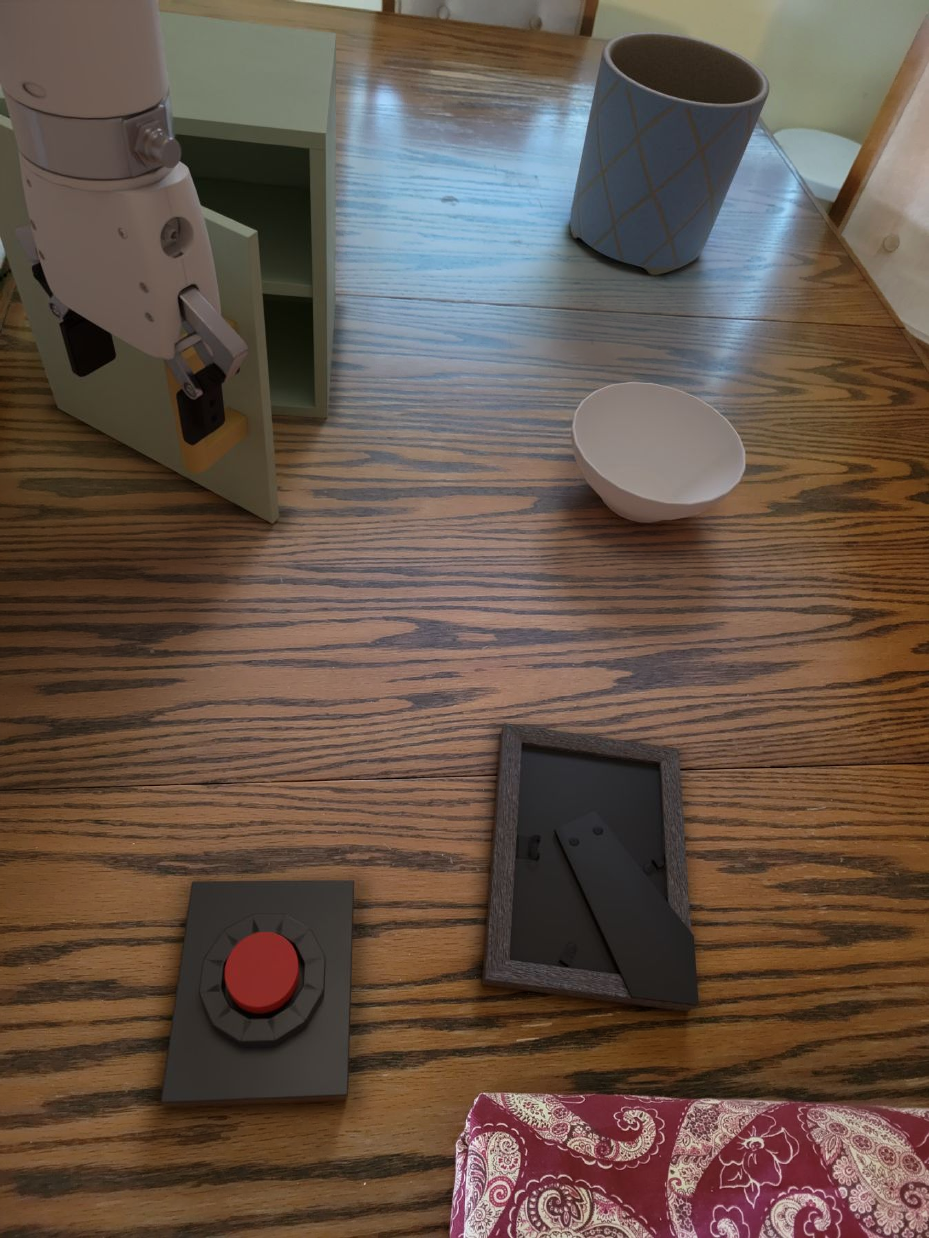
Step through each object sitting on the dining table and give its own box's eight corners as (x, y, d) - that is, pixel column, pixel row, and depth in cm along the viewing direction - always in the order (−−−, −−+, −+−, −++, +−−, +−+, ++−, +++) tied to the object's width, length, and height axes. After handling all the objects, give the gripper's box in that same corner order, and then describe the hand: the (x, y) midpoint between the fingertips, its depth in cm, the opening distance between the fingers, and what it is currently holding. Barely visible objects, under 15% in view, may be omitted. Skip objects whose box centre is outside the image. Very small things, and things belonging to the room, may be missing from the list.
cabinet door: (228, 567, 69) (182, 279, 48) (6, 443, 74) (-123, 132, 53) (279, 517, 73) (258, 230, 52) (65, 402, 78) (-34, 98, 57)
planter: (728, 239, 112) (794, 74, 96) (667, 298, 101) (730, 124, 85) (605, 184, 116) (649, 18, 100) (536, 235, 106) (572, 59, 90)
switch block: (347, 1100, 48) (348, 1091, 45) (166, 1107, 46) (154, 1098, 43) (353, 890, 55) (354, 869, 52) (196, 892, 53) (187, 870, 50)
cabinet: (327, 418, 81) (325, 133, 60) (63, 401, 78) (-37, 93, 57) (335, 309, 92) (336, 33, 70) (103, 289, 88) (30, -5, 67)
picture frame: (687, 1011, 53) (671, 757, 64) (698, 1004, 51) (680, 745, 62) (481, 984, 52) (500, 732, 63) (486, 976, 51) (504, 720, 61)
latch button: (296, 1013, 47) (295, 1006, 45) (223, 1014, 46) (220, 1008, 45) (301, 939, 49) (300, 930, 48) (231, 940, 49) (228, 931, 47)
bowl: (743, 551, 78) (775, 498, 72) (581, 564, 74) (601, 510, 69) (684, 434, 87) (708, 379, 81) (537, 440, 83) (552, 383, 77)
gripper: (280, 167, 42) (288, 431, 55) (33, 45, 45) (98, 319, 59) (169, 221, 37) (207, 492, 51) (-92, 81, 41) (8, 367, 55)
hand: (149, 399), depth 55 cm, fingers open, 9 cm apart
